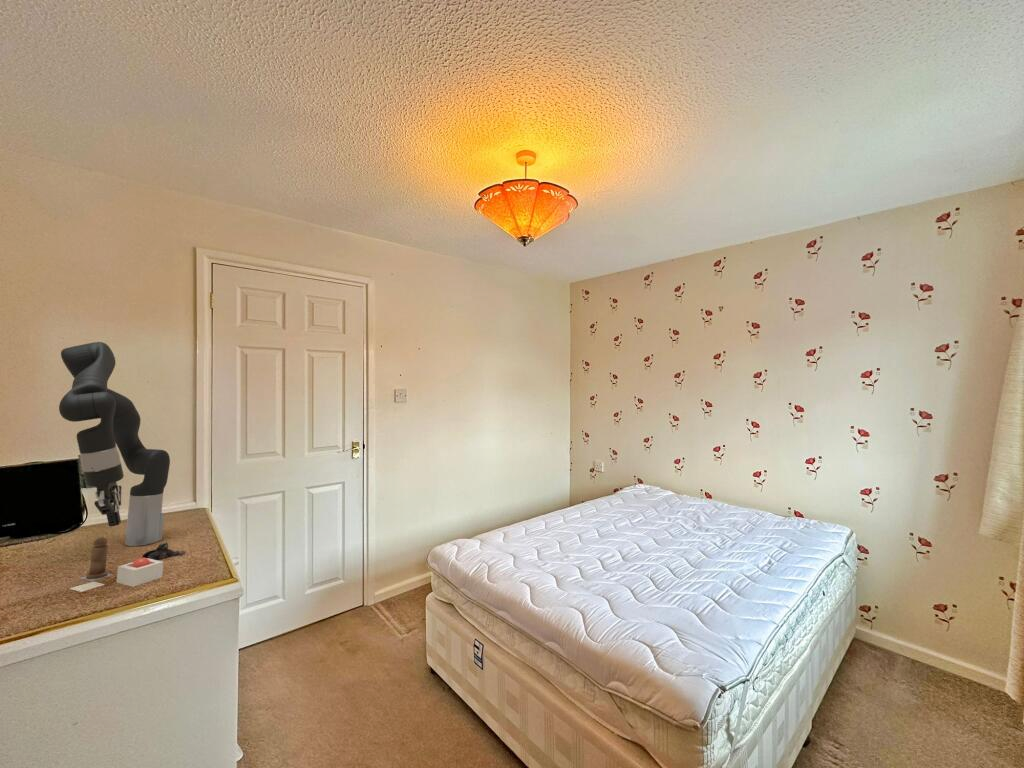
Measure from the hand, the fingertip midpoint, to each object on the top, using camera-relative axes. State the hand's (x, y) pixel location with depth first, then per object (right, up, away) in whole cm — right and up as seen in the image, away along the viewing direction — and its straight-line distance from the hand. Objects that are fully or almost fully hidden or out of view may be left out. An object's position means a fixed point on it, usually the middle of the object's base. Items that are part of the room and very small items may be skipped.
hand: (115, 524), depth 116 cm
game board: (0, -16, -1) cm, 16 cm away
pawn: (-7, -15, +2) cm, 17 cm away
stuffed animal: (-1, -18, +17) cm, 25 cm away
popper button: (+6, -15, 0) cm, 16 cm away
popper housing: (+6, -17, 0) cm, 18 cm away
